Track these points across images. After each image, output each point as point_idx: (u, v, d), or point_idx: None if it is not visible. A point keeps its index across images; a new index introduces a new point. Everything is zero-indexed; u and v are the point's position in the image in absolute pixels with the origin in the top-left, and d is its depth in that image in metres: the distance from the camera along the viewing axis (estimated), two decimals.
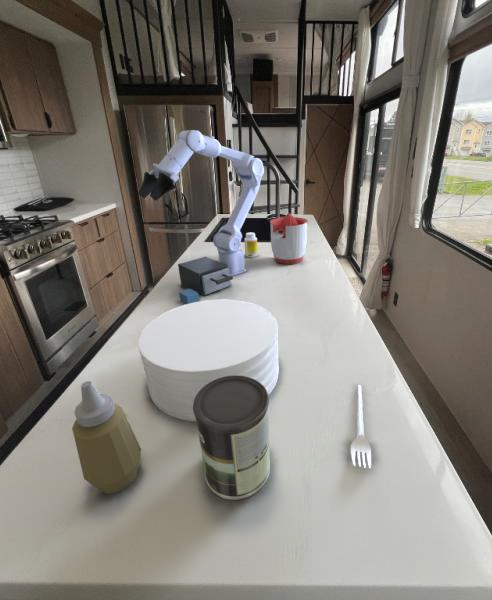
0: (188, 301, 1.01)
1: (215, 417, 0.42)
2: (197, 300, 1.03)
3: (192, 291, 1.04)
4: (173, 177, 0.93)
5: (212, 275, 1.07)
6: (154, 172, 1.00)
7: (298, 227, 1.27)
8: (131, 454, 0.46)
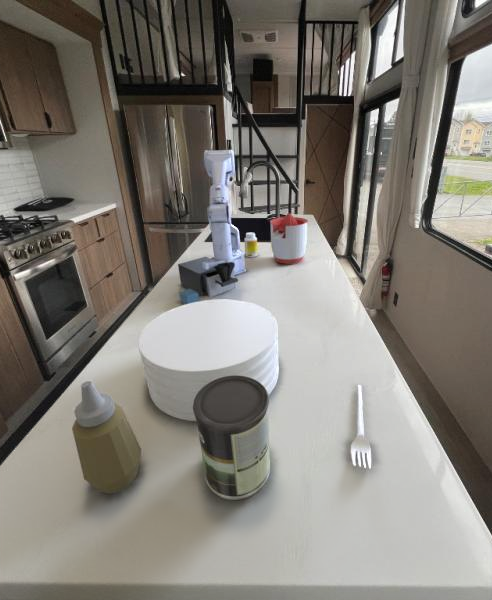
0: (188, 301, 1.01)
1: (215, 417, 0.42)
2: (197, 300, 1.03)
3: (192, 291, 1.04)
4: None
5: (217, 277, 1.05)
6: None
7: (298, 227, 1.27)
8: (131, 454, 0.46)
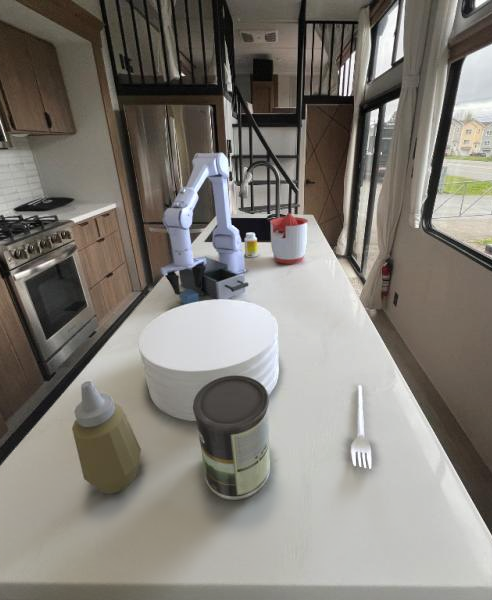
0: (188, 301, 1.01)
1: (215, 417, 0.42)
2: (197, 300, 1.03)
3: (192, 291, 1.04)
4: None
5: (227, 281, 1.02)
6: None
7: (298, 227, 1.27)
8: (131, 454, 0.46)
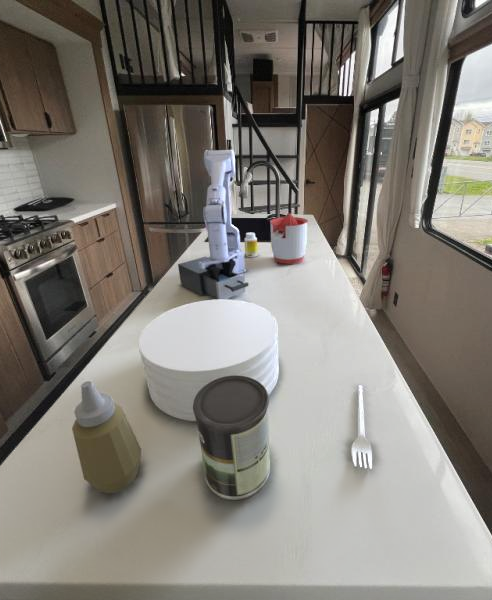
0: None
1: (215, 417, 0.42)
2: None
3: (225, 276, 1.07)
4: None
5: (227, 281, 1.02)
6: None
7: (298, 227, 1.27)
8: (131, 454, 0.46)
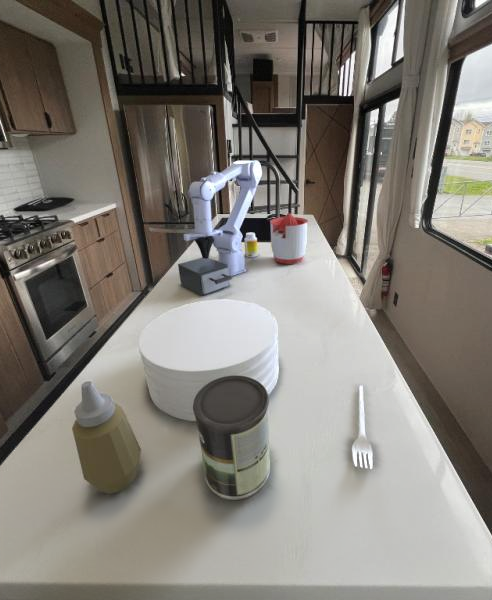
0: None
1: (215, 417, 0.42)
2: None
3: (210, 272, 1.13)
4: None
5: (211, 275, 1.07)
6: None
7: (298, 227, 1.27)
8: (131, 454, 0.46)
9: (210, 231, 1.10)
